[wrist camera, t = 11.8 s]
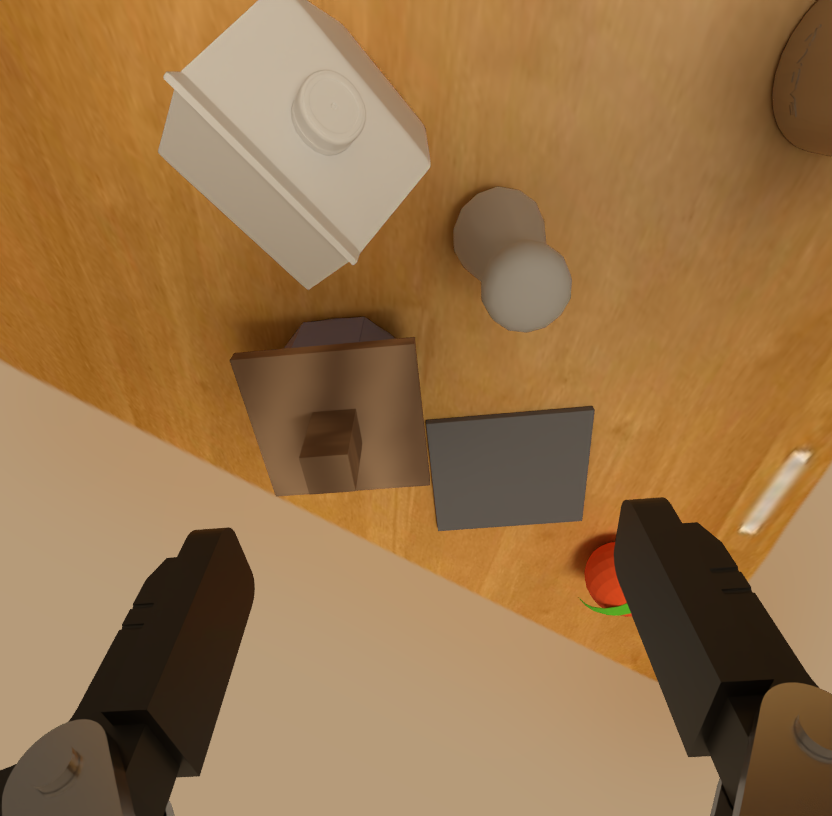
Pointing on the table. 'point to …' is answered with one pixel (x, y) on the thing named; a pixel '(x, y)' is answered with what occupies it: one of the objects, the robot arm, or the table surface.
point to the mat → (510, 467)
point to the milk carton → (294, 136)
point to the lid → (336, 415)
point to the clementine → (605, 582)
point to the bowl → (337, 332)
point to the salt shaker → (512, 259)
